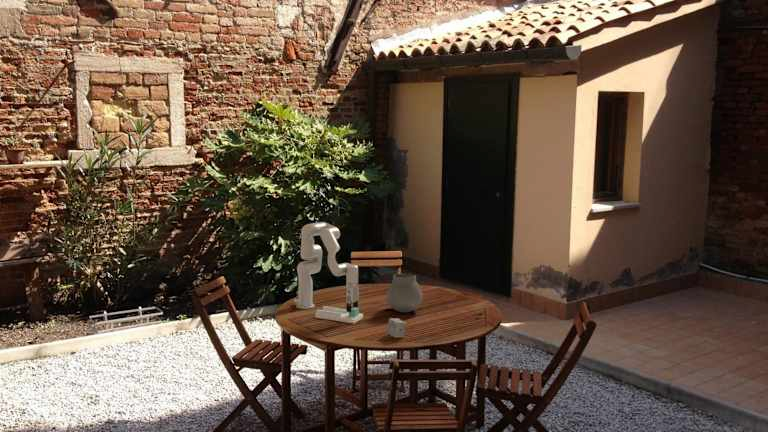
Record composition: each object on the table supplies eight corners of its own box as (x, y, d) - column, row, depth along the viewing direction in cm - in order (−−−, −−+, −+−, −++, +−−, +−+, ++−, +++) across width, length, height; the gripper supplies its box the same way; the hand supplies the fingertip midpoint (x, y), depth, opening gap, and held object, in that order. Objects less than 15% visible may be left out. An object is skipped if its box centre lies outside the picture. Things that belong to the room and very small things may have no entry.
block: (348, 316, 456) (348, 308, 455) (351, 314, 460) (351, 306, 460) (355, 317, 454) (355, 309, 453) (358, 315, 459) (358, 307, 458)
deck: (315, 317, 461) (315, 310, 460) (325, 311, 473) (325, 305, 473) (353, 323, 450) (353, 316, 449) (363, 317, 462) (363, 310, 462)
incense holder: (406, 337, 424) (407, 321, 423) (394, 339, 420) (395, 322, 419) (398, 333, 433) (398, 316, 431) (386, 334, 429) (386, 318, 427)
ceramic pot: (427, 308, 486) (428, 273, 482) (413, 318, 464) (414, 281, 460) (394, 304, 496) (395, 269, 492) (380, 312, 474) (380, 276, 470)
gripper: (351, 287, 445) (351, 314, 447) (363, 281, 461) (363, 307, 463) (340, 286, 448) (340, 312, 450) (352, 280, 464) (352, 306, 466)
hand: (352, 310), depth 457 cm, fingers open, 9 cm apart
